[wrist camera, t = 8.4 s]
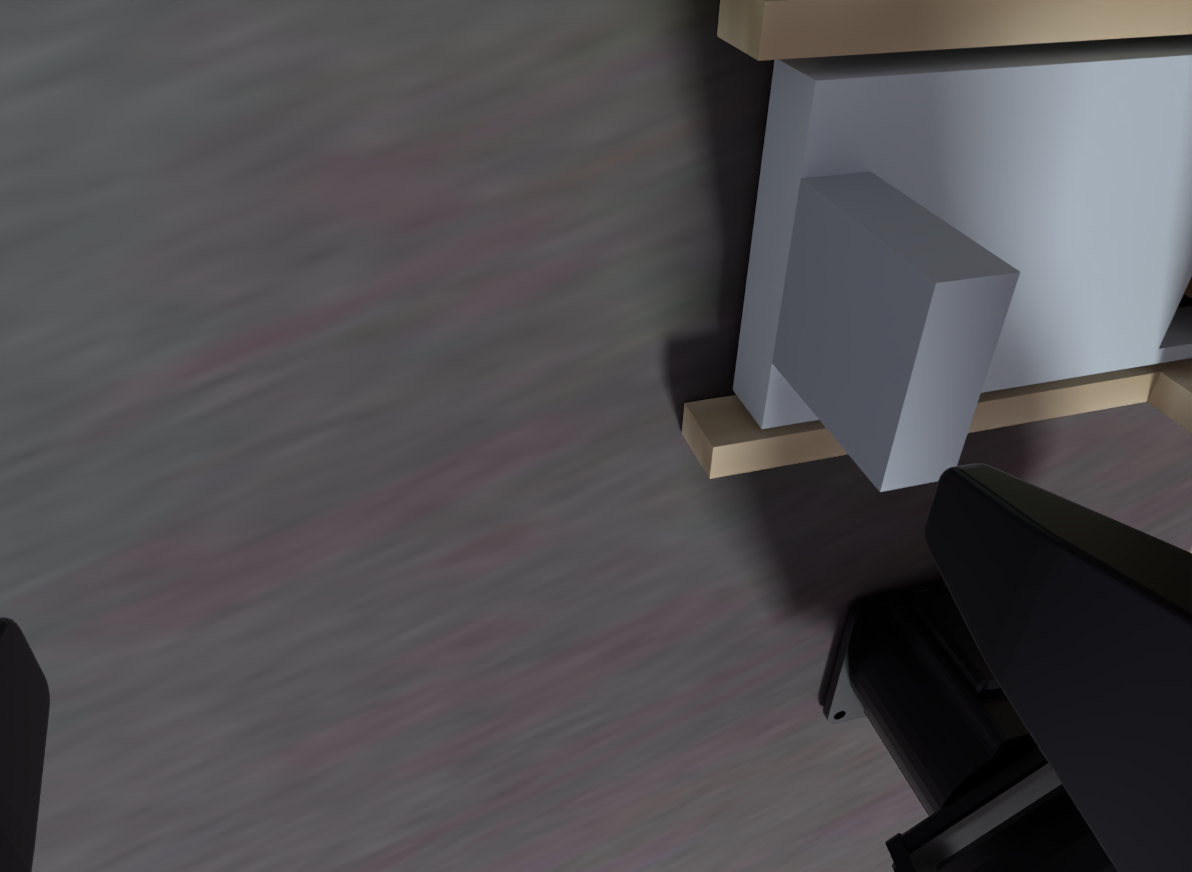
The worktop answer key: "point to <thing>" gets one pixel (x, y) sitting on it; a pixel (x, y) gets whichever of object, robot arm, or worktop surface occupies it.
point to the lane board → (917, 23)
